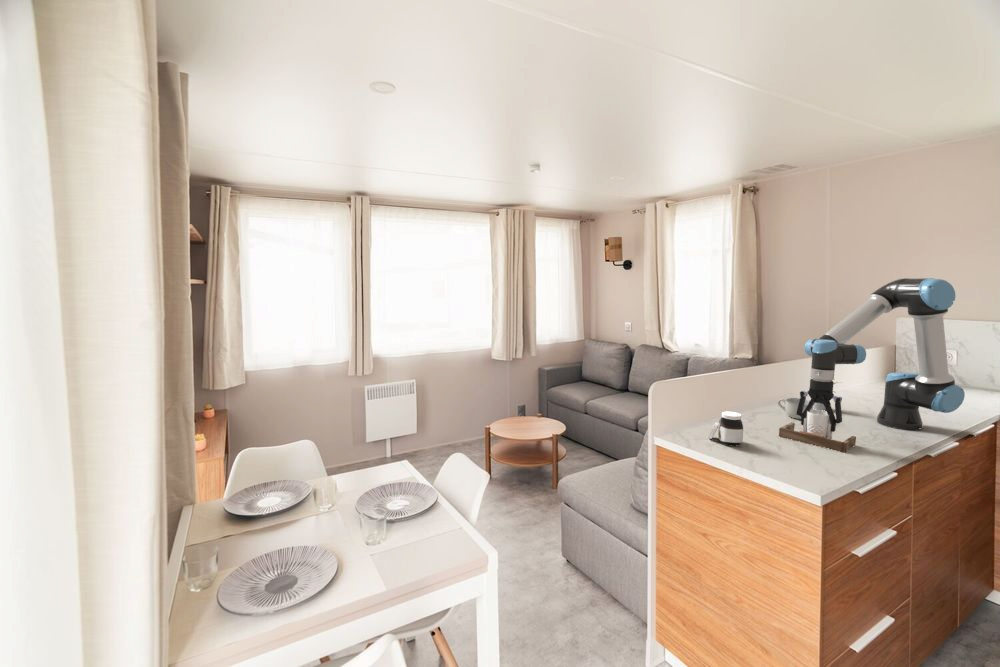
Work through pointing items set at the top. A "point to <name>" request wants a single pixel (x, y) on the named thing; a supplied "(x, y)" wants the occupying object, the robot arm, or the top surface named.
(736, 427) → the spread jar
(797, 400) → the teacup
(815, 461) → the top surface
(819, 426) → the white cup
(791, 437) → the brown wooden open frame
